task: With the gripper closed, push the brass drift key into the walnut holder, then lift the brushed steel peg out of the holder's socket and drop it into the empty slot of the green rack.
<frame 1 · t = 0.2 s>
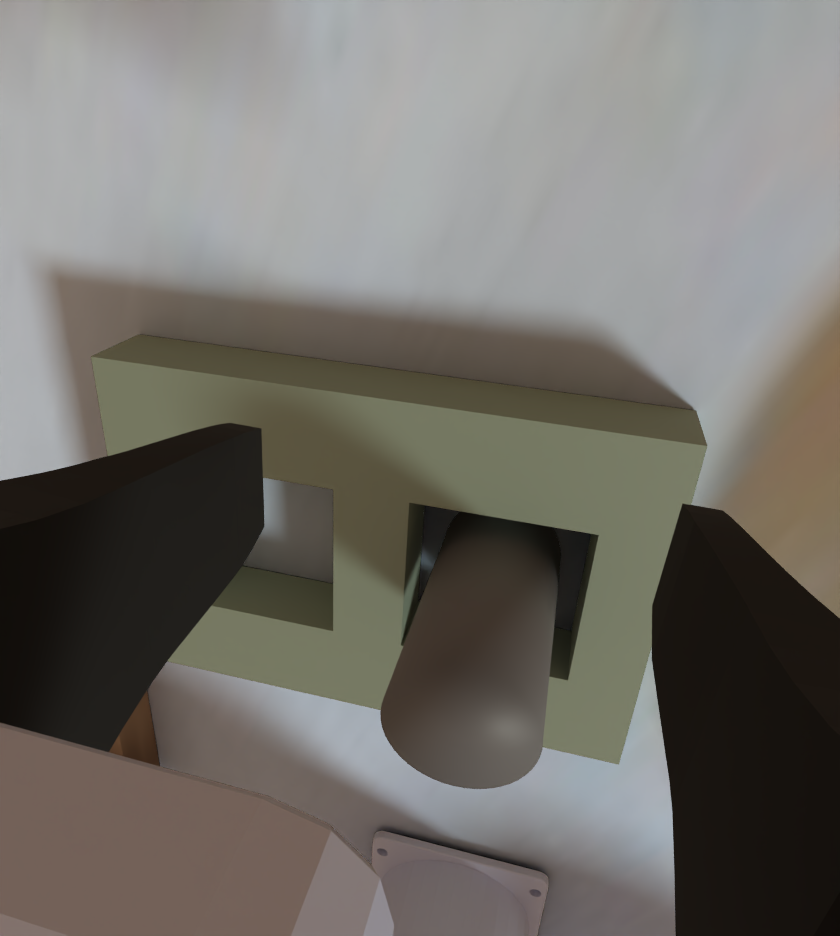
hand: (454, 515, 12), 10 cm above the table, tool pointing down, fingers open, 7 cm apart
socket holder: (62, 715, 34), on the table
tool rack: (389, 531, 24), on the table
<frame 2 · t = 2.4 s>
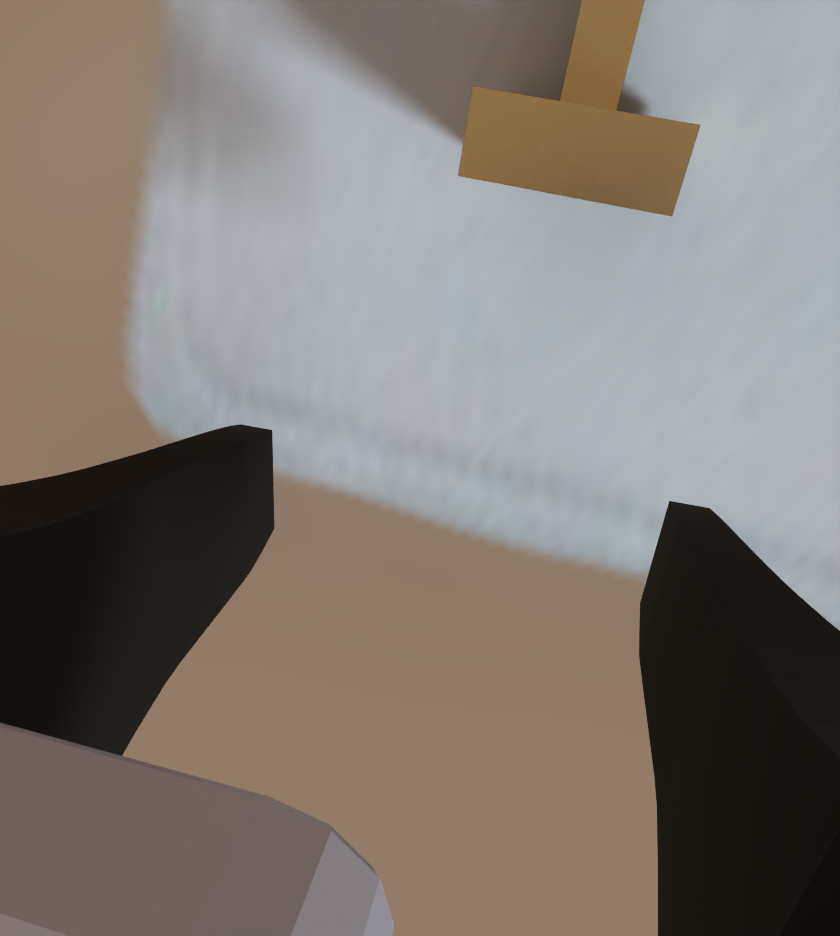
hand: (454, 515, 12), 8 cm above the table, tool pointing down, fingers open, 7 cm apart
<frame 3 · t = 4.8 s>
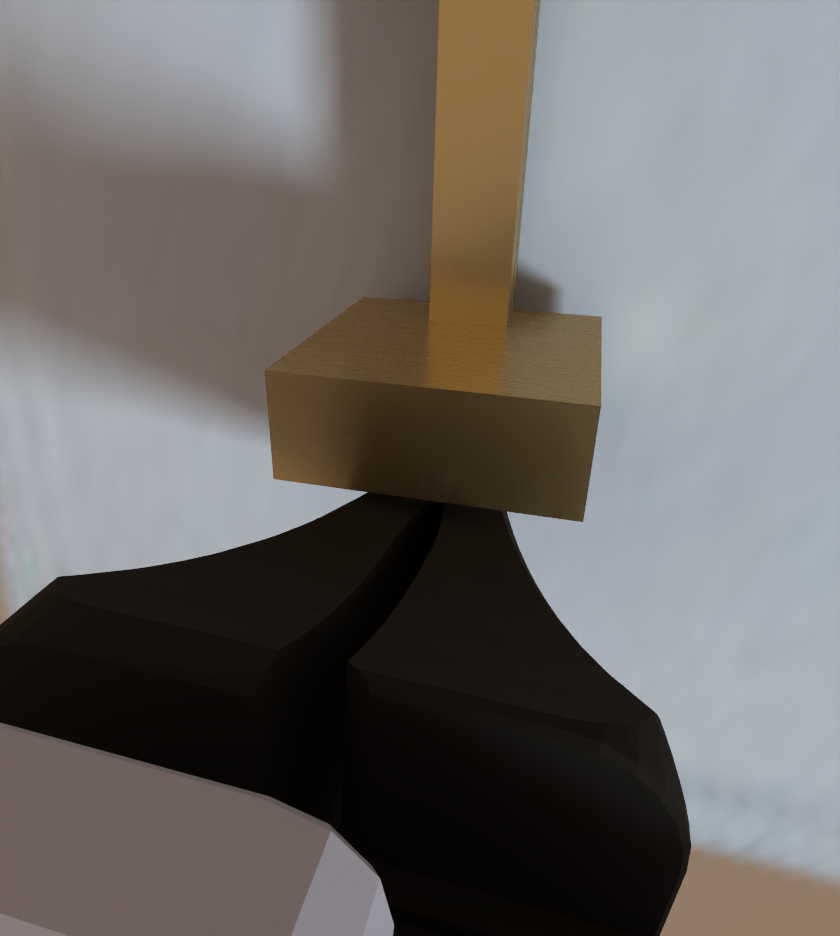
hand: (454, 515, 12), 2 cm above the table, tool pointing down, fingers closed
drift key: (467, 122, 9), point 2 cm above the table, slide at 3.4 cm, touching gripper
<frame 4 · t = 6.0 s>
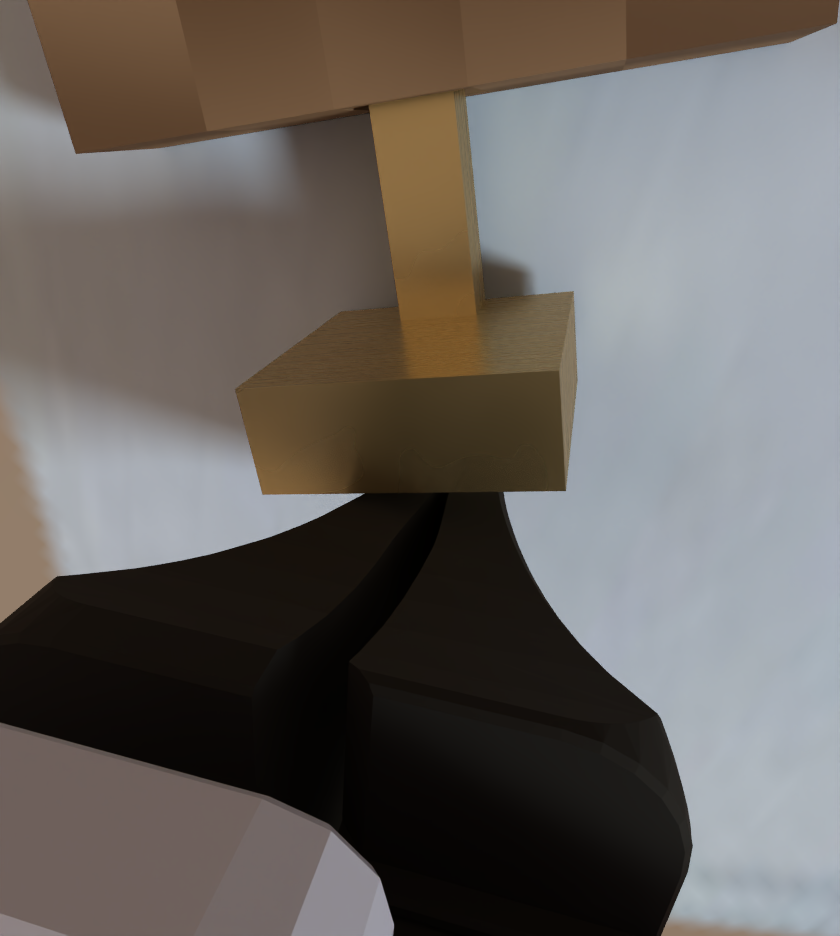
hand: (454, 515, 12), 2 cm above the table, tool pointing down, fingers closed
drift key: (396, 120, 9), point 3 cm above the table, slide at -0.5 cm, touching gripper
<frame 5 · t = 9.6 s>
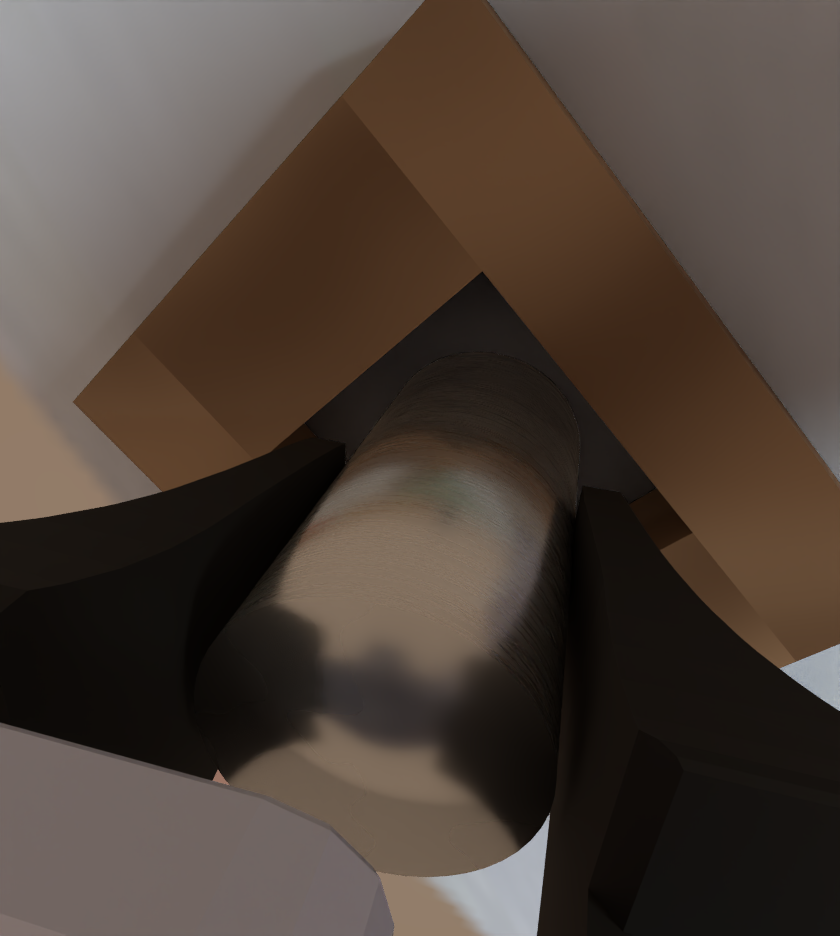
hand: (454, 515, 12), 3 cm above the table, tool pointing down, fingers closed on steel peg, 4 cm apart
socket holder: (481, 445, 14), on the table
steel peg: (442, 549, 11), in the socket holder, touching gripper
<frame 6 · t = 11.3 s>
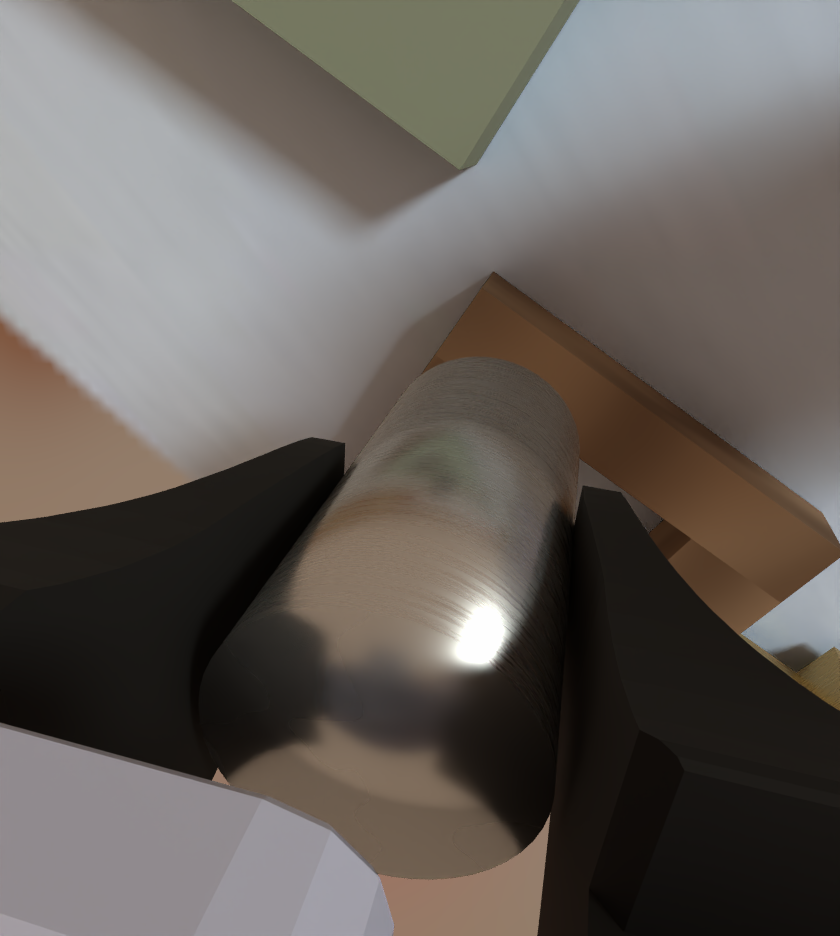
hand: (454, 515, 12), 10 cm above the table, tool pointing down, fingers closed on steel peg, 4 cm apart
socket holder: (553, 509, 22), on the table
steel peg: (442, 554, 11), point 11 cm above the table, touching gripper
drift key: (727, 677, 21), point 3 cm above the table, slide at -0.1 cm
when the fingers open (7 cm above the table, at t = 13.0 s): steel peg drops 4 cm, resting in tool rack.
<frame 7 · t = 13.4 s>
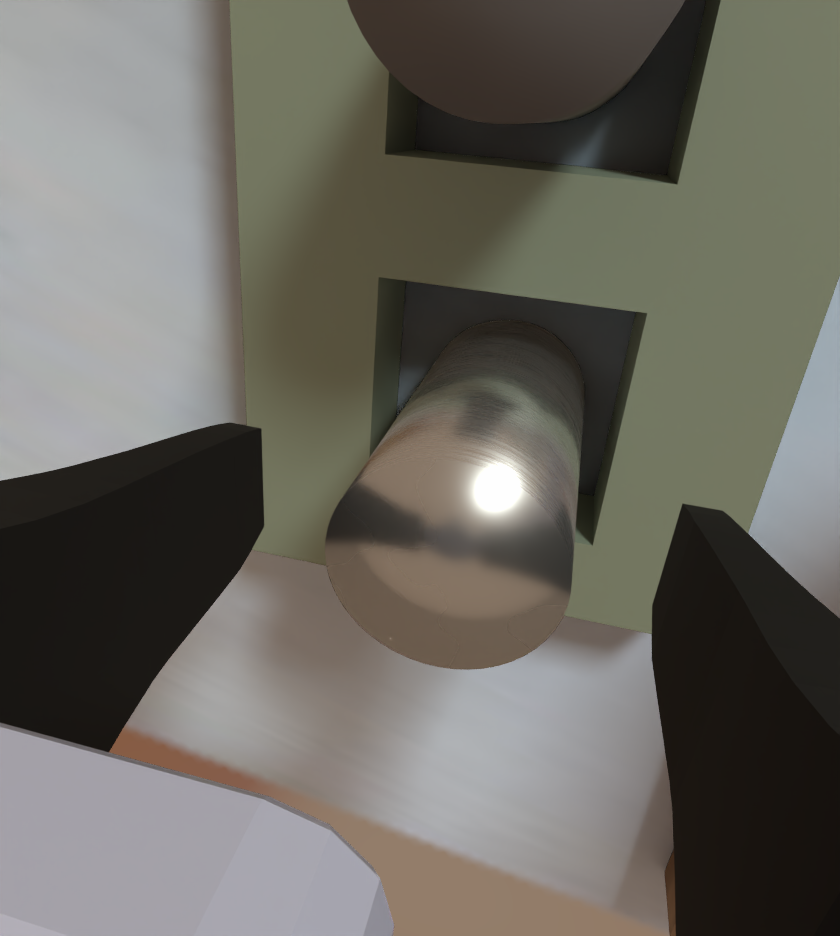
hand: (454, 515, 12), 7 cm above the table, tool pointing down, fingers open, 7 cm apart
steel peg: (482, 462, 15), resting in tool rack
tool rack: (528, 218, 16), on the table
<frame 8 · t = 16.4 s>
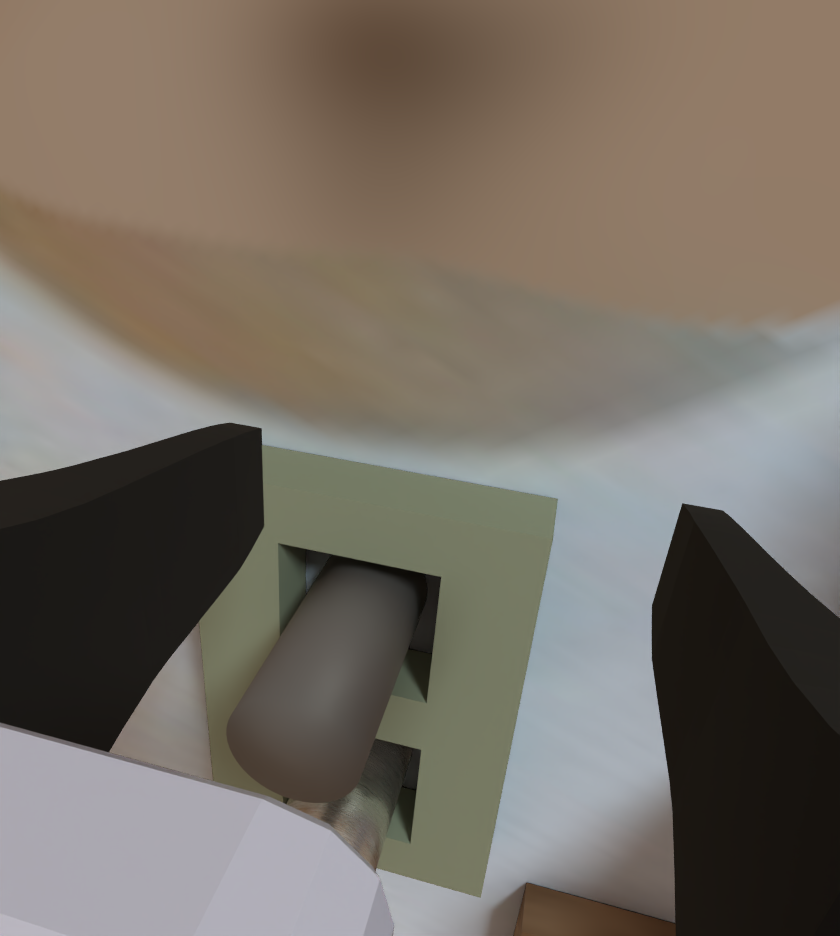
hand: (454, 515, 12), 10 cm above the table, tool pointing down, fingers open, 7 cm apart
steel peg: (336, 820, 27), resting in tool rack
tool rack: (370, 663, 28), on the table
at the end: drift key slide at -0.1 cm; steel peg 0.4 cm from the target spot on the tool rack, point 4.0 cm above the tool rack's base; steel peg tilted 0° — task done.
